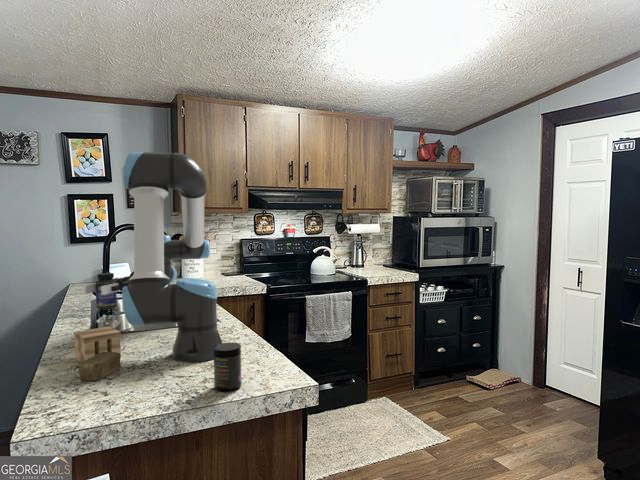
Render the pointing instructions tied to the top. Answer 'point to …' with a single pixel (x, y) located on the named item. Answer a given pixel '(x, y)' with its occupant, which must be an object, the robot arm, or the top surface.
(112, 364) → the stone block
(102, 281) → the pill bottle
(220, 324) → the top surface
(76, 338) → the block
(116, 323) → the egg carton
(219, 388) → the supplement container
